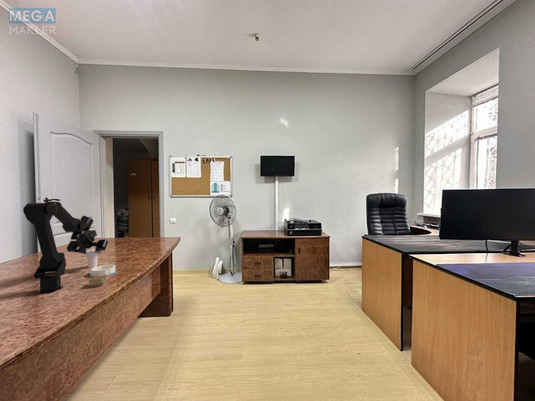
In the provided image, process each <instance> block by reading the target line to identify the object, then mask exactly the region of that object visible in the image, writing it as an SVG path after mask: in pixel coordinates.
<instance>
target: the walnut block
mask: <svg viewBox="0 0 535 401" xmlns="http://www.w3.org/2000/svg"><path fill="white" fill-rule="evenodd" d="M106 283H107V276H106V275H103V276H94V277H92V278H91V279H90V278H89V279H88V288H99V287H103V286H104V285H105V284H106Z"/></svg>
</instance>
